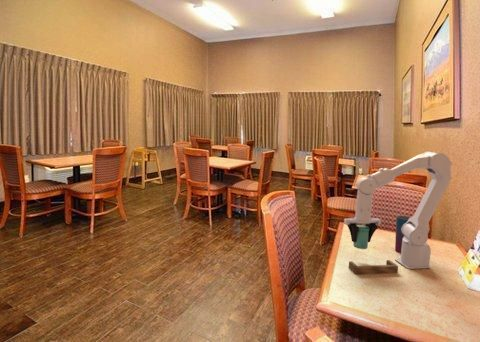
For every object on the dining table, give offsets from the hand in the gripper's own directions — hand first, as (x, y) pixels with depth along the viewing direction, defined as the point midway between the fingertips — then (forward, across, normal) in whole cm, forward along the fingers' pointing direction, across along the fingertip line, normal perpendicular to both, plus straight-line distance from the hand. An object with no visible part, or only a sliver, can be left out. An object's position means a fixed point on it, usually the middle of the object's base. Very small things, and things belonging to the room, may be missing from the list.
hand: (360, 241), depth 117 cm
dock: (+7, 0, +10) cm, 12 cm away
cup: (+8, -23, -6) cm, 25 cm away
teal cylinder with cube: (+2, 0, -1) cm, 2 cm away
